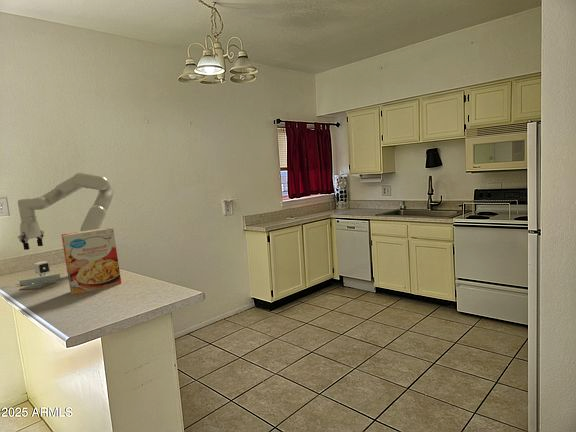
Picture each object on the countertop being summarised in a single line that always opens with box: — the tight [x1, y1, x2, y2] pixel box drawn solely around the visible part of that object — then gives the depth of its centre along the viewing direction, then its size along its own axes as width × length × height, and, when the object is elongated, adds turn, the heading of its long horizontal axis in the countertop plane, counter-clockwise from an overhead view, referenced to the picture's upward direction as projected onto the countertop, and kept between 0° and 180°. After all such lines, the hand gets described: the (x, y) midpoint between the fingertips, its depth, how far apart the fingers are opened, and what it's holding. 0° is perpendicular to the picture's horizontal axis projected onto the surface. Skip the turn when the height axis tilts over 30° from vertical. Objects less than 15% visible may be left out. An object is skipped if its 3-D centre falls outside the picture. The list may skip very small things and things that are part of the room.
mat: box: [18, 281, 56, 291], centre depth 216 cm, size 12×12×1 cm
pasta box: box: [61, 226, 122, 296], centre depth 200 cm, size 23×8×30 cm, turn 127°
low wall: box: [19, 273, 61, 287], centre depth 225 cm, size 20×1×3 cm, turn 114°
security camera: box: [33, 260, 51, 278], centre depth 234 cm, size 6×7×10 cm
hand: (33, 247), depth 231 cm, fingers open, 9 cm apart
